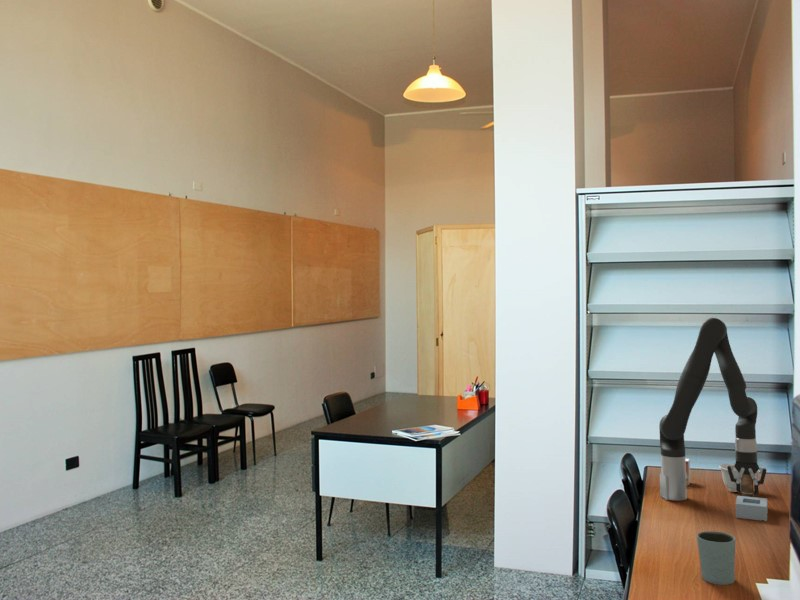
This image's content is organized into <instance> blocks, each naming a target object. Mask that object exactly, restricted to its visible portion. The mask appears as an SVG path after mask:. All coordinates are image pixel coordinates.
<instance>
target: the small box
mask: <svg viewBox="0 0 800 600" xmlns="http://www.w3.org/2000/svg"><path fill="white" fill-rule="evenodd" d="M685 459H686V486H688V485H689V486H690V484H691V469H690V467H691V465H690V463H691V462H690V461H691V459H690V458H685Z"/></svg>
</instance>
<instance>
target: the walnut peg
mask: <svg viewBox="0 0 800 600" xmlns="http://www.w3.org/2000/svg"><path fill="white" fill-rule="evenodd" d="M740 495H741V496H747V497H754V496H755V494H754V481H753V479H752V477H751V475H747V474H743V475H742V478H741V494H740Z"/></svg>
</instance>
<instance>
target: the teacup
mask: <svg viewBox="0 0 800 600" xmlns="http://www.w3.org/2000/svg"><path fill="white" fill-rule="evenodd" d="M728 465H730V466H732V465H735V463H722V464H720V465H719V466H718V467H719V469H720V470H721V474H722V480H723V485H724V486H725V487H726V488H728V490H729V491H728V492H730V491H732V492H731V493H734V492H737V490H736V483H735V482H732V481H731V479H730V476H729V472H728V469H727V466H728ZM732 472H733V475H734V478H735V479H737V477H738V474H739V472H738V471H737V470H736V469H735V468H734V471H732ZM756 478H757V480H759V478H760V470H758V471H757V472H756ZM740 485H741V480H740Z"/></svg>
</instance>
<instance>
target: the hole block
mask: <svg viewBox="0 0 800 600" xmlns="http://www.w3.org/2000/svg"><path fill="white" fill-rule="evenodd" d="M768 506H769V505H768V497H767V498H766V497H756V496H753V497H747V496H742V495H737V496H736V499H735V518H736V519H744V520H755V521H762V520H764V521H763V522H767V521H768V515H767V514H768V513H769V512H768V511H769V510H768Z"/></svg>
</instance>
